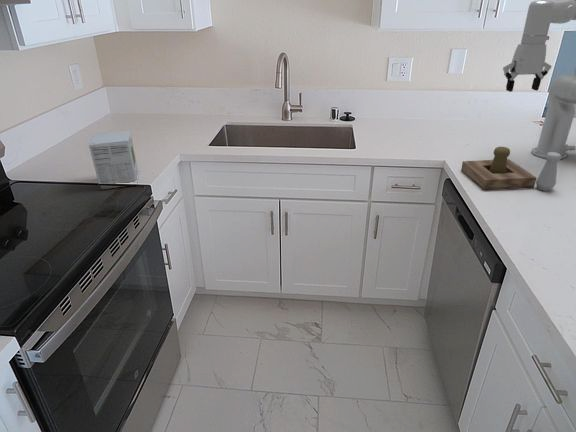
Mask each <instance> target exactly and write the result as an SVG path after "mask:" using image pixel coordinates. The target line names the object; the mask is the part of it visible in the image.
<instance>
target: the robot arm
mask: <svg viewBox="0 0 576 432" xmlns="http://www.w3.org/2000/svg"><path fill="white" fill-rule="evenodd" d="M525 18H526V19H525V24H524V26H523V32H522V37H521V40H520V44H519V43H518V44H517V46H516V49H515V51H514V54H513V56H512V60H511V63H509V64H506V65H505V66H504V67H503V68H502V71H503V75H504V76H505V78H506V80H507V81H506V86H505V87H506V89H505V90H506V91H507V92H509V93H510V92H514V86H515V79H516V78H517V76H520V75H522V76H523V75H524V76H525V75H534V78H533V81H532V84H531V85H532V86H531V90H533V91H539V89H540V86H541V82H542V80H543V79H544V77H545V76H546V75H548V73H549V71H550V70H551V69H552V65H551V64H550V63H548V62H546V58H547V57H546V56H547V44H546V43H547V41H549V40H550V36H549V35H548V34H549V29H550V24H558V25H560V24H563V25H564V24H566V23H569V22H570V21H576V0H534V1H531V2H530V3H529V5H528V9H527V13H526V17H525ZM573 74H574V75H571V74H562V75H559V76H558V77H556V78H554V80H553V81H552V82H551V84H550V87H549V96H548V97H549V99H548V105H547V109H546V114H545V117H544V120H543V124H542V128H541V130H540V135H539V139H538V143H537V146H536V147H534V148H532V149H531V154H532V155H533V156H536V157H539V158H541V159H546V155H547V153H549V152H556V153H559V154H560V155H561V159H560V160H563V159H566V157H567V156H568V154H567V152H568V151H576V145H569V144H566V143H567V141H568V137H569V133H570V130H571V127H572V124H573V121H574V117H575V113H576V109H575V105H576V67H575V68H574V70H573Z"/></svg>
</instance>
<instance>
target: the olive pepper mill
mask: <svg viewBox="0 0 576 432" xmlns="http://www.w3.org/2000/svg"><path fill="white" fill-rule="evenodd" d="M510 154H511V150H510V148H509V147H507V146H506V147H505V146H497V147H495V148H494V149H493V155H494V156H493V158H492V160H493V161H492V164H491V167H490V169H489V171H490V172H491V173H492V174H498V173H506V165H507V159H508V158H509V157H510Z"/></svg>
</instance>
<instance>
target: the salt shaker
mask: <svg viewBox="0 0 576 432" xmlns="http://www.w3.org/2000/svg"><path fill="white" fill-rule="evenodd" d="M545 160H546V161H545V163H544V165H543V166H542V169H541V171H540V173H539V175H538V177H537V179H536V182H535V185H536V187H537V189H538V190H539V189H540V190H539V191H541V190H543V191H542V192H550V191H551V190H553V188H555V186H556V184H557V173H558V163H559V162H560V161H561V160H562V159H561V155H560V154H559V153H556V152H549V153H547V155H546V158H545ZM549 190H550V191H549Z"/></svg>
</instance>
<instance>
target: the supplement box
mask: <svg viewBox="0 0 576 432" xmlns="http://www.w3.org/2000/svg"><path fill="white" fill-rule="evenodd" d="M88 147H89V151H90V155H91V159H92V162H93V167H94V171H95V174H96V179H97V182H98V185H99V184H116V183H130V182H135V181H136V180H137V175H138V172H139V168H138V163H137V159H136V152H135V149H134V144H133V138H132V134H131V131H130V130H124V131H113V132H102V133H94V134H93V136H92V138H91V140H90V142H89V144H88Z"/></svg>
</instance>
